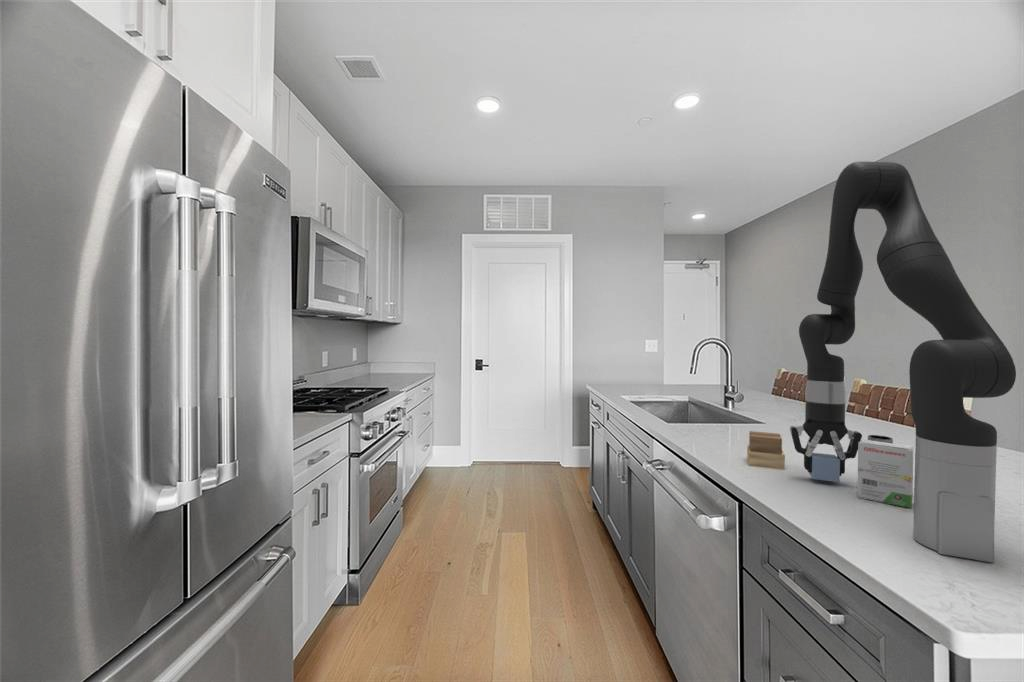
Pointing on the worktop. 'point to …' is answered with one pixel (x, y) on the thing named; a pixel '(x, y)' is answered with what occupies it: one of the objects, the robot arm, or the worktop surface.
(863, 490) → the ink box
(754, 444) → the walnut block
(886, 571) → the worktop surface
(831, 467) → the blue cube
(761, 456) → the oak block
